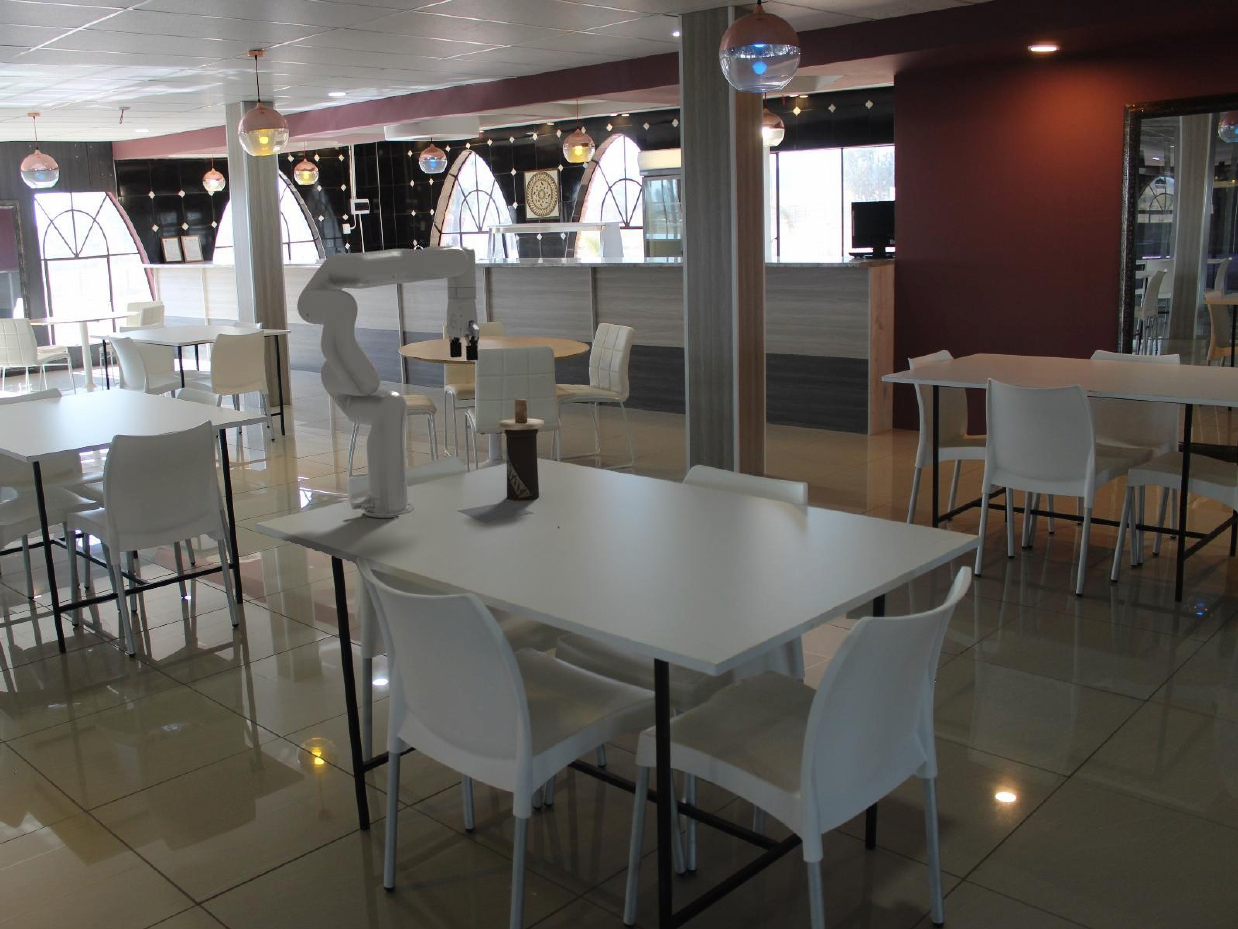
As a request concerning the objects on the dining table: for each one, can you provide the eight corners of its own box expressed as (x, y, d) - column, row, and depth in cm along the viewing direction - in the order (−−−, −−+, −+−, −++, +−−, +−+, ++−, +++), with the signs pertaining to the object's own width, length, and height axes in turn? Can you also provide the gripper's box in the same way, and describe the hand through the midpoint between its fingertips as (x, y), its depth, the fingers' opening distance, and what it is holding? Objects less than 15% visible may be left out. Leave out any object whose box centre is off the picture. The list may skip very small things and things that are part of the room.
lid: (514, 431, 282) (513, 404, 280) (489, 425, 291) (489, 399, 289) (553, 426, 289) (552, 399, 287) (528, 420, 298) (527, 394, 297)
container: (502, 498, 296) (499, 424, 292) (533, 494, 300) (531, 422, 295) (512, 505, 288) (510, 429, 284) (545, 501, 292) (543, 427, 288)
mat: (485, 525, 269) (485, 521, 269) (457, 513, 280) (457, 510, 280) (533, 515, 277) (533, 512, 277) (504, 505, 288) (504, 502, 288)
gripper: (435, 293, 297) (437, 356, 300) (463, 296, 283) (465, 362, 286) (460, 292, 301) (462, 355, 305) (489, 295, 287) (491, 360, 290)
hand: (464, 358), depth 295 cm, fingers open, 9 cm apart
